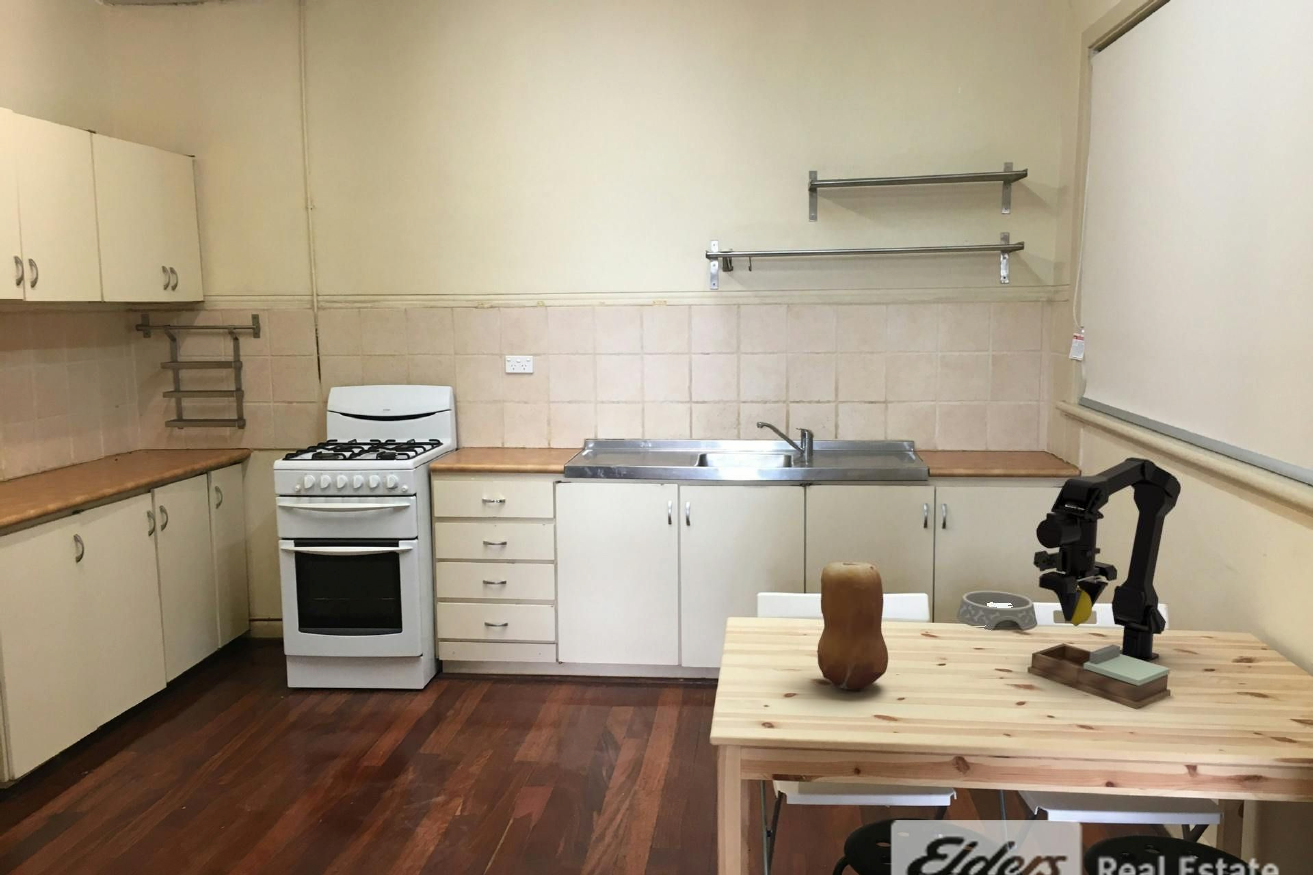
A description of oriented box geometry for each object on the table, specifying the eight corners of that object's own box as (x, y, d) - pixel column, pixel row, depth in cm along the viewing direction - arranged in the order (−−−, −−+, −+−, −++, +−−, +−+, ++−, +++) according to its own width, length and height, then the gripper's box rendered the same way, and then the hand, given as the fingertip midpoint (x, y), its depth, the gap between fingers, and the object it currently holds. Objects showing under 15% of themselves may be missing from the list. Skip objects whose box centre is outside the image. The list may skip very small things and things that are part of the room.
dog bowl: (948, 609, 246) (949, 588, 246) (1023, 610, 246) (1024, 589, 245) (967, 631, 229) (968, 608, 229) (1048, 632, 229) (1049, 610, 228)
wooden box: (1027, 672, 203) (1028, 653, 202) (1061, 660, 209) (1062, 642, 209) (1136, 708, 184) (1138, 688, 183) (1170, 694, 191) (1171, 674, 190)
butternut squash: (842, 670, 203) (846, 550, 200) (900, 687, 194) (904, 562, 191) (801, 687, 194) (804, 562, 190) (859, 707, 184) (863, 575, 181)
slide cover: (1083, 668, 193) (1084, 653, 192) (1114, 657, 199) (1115, 642, 199) (1138, 685, 184) (1139, 670, 183) (1169, 673, 190) (1170, 658, 190)
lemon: (1085, 622, 202) (1087, 583, 201) (1094, 630, 197) (1097, 591, 196) (1057, 621, 203) (1059, 583, 202) (1065, 629, 197) (1068, 590, 196)
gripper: (1069, 529, 209) (1065, 600, 211) (1016, 540, 199) (1013, 616, 200) (1120, 538, 200) (1116, 613, 202) (1068, 551, 190) (1063, 630, 192)
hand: (1076, 618), depth 199 cm, fingers closed on lemon, 5 cm apart
